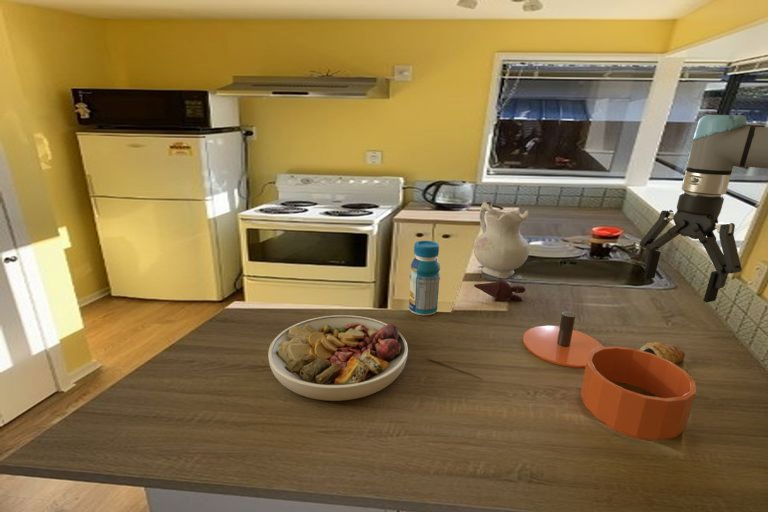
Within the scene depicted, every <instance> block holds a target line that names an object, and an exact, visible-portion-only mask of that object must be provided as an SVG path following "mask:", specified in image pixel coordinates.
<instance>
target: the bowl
mask: <svg viewBox="0 0 768 512" xmlns="http://www.w3.org/2000/svg"><path fill="white" fill-rule="evenodd" d="M408 347H409V346H408V343H407V341H406V339H405V337H404V336H403V335H402V334H401V332H400V331H399V330H398V327H397V326H396V325H394V324H392V323H386V322H383V321H380V320H378V319H374V318H371V317H367V316H361V315H360V316H359V315H350V314H349V315H347V314H337V315H335V314H334V315H325V316H319V317H313V318H310V319H306V320H303V321H300V322H298V323H295V324H292V325H291V326H288V327H287V328H286V329H284V330H283V331H281V332H280V333H279V334H278V335H277V336H276V337H275V338H274V339H273V340H272V342H271V343H270V345H269V348H268V354H267V355H268V356H267V357H268V364H269V367H270V370H271V372H272V374H273V375H274V377H275V379H277V381H278V382H279V383H280V384H281V385H282V386H284V387H285V388H286V389H288V390H290V391H291V392H292V393H294V394H297V395H298V396H299V395H300V396H303V397H306V398H309V399H312V400H313V399H314V400H319V401H330V402H335V401H336V402H338V401H339V402H341V401H342V402H343V401H350V400H356V399H357V400H358V399H361V398H364V397H367V396H371V395H374V394H376V393H377V392H380V391H382V390H383V389H385V388H387V387H388V386H389V385H391V384H393V382H394V381H395V380H397V378H398V377H399V376H400V375H401V373H402V372H403V370H404V368H405V367H406V363H407V360H408V353H409V349H408Z"/></svg>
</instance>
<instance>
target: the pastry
mask: <svg viewBox="0 0 768 512" xmlns="http://www.w3.org/2000/svg"><path fill="white" fill-rule="evenodd" d="M639 350H641V351H645V352H648V353H652V354H655V355H657V356H659V357H661V358H664V359H666V360H668V361H670V362H672V363H674V364H675V365H677V364H678V363H680V362H683V361H684V358H685V357H686V354H685V351H684V350H682V349H681V348H680V347H678V346H676V345H675V344H673V345H672V344H670V343H665V342H659V341H654V342H647V343H645V344H644V345H643V346H642V347H640V348H639Z"/></svg>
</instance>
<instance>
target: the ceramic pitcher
mask: <svg viewBox="0 0 768 512" xmlns="http://www.w3.org/2000/svg"><path fill="white" fill-rule="evenodd" d="M492 203H493V201H492V200H487V199H484V200H483V201H482V204H481V206H480V210H479V223H480V228H481V231H482V233H481V234H480V235H478V236H477V237H475V239H474V242H473V254H474V257H475V259H476V261H477V262H478V263H479V264H480V265H481V266H483V267H482V268H481V270H480V271H481V273H483V274H486V275H489V276H491V277H493V278H497V279H508V278H510V277H511V276H513V275H515V270H517V269H519V268H520V267H522V266H523V265H524V264H525V262H526V261H527V260H528V258H529V255H530V250H531V249H530V248H531V247H530V243H529V242H528V241H527V239H525V238H524V237H523V236H522V234H521V227H522V224H523V223H524V222H525V221H526V220H527V219H528V217H529V210H525V211H524V213H521V212H520V211H519V210H518V211H517V210H511V211H506V212H504V211H500V210H495V209H494V208H493V204H492Z"/></svg>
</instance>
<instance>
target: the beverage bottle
mask: <svg viewBox="0 0 768 512" xmlns="http://www.w3.org/2000/svg"><path fill="white" fill-rule="evenodd" d="M439 253H440V244H439V243H438V242H436V241H433V240H432V241H431V240H418V241H416V242H415V243H414V247H413V254H414V256H415V257H414V258H413V260H412V261H411V264H410V269H411V271H410V273H409V299H408V300H409V301H408V310H409V311H410V312H411V313H412V314H414V315H416V316H417V315H418V316H432V315H434V314H436V313H437V311H438V304H439V303H438V302H439V289H440V280H441V274H440V271H441V265H440V261H439V260H438V258H437V257H439Z"/></svg>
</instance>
